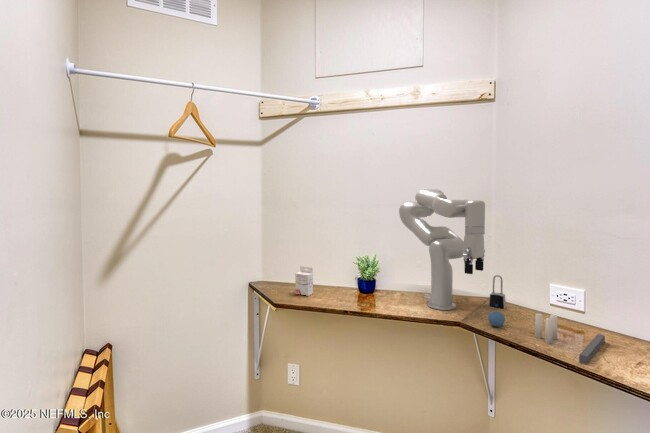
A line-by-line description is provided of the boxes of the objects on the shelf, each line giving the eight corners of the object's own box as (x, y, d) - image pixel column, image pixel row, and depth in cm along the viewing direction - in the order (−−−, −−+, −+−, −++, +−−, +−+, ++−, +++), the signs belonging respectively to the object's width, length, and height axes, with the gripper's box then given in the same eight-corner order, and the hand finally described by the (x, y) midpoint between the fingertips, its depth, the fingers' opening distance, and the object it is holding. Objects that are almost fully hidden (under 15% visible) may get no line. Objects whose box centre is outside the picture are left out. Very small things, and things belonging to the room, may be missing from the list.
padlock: (488, 306, 163) (488, 275, 162) (490, 304, 166) (490, 273, 165) (504, 309, 159) (504, 276, 158) (506, 307, 162) (506, 275, 161)
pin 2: (548, 338, 126) (549, 315, 126) (550, 337, 127) (551, 314, 127) (555, 340, 124) (556, 317, 124) (557, 338, 126) (558, 315, 125)
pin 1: (544, 342, 123) (544, 318, 122) (546, 340, 124) (546, 317, 124) (551, 344, 121) (551, 320, 121) (553, 342, 123) (554, 319, 122)
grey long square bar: (579, 362, 108) (579, 354, 108) (597, 340, 124) (597, 333, 124) (587, 364, 107) (587, 356, 106) (604, 342, 122) (604, 335, 122)
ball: (485, 326, 139) (485, 311, 139) (491, 322, 143) (492, 307, 142) (500, 330, 134) (501, 315, 134) (507, 326, 138) (507, 311, 138)
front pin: (534, 337, 127) (534, 314, 127) (536, 335, 129) (536, 313, 128) (540, 339, 126) (541, 316, 125) (542, 337, 127) (543, 314, 127)
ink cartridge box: (295, 294, 186) (294, 267, 186) (300, 292, 191) (300, 265, 190) (308, 297, 182) (307, 269, 181) (313, 294, 186) (313, 267, 185)
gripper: (475, 228, 152) (474, 267, 153) (455, 231, 141) (455, 273, 142) (493, 229, 146) (492, 270, 148) (473, 232, 135) (473, 276, 136)
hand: (474, 271), depth 145 cm, fingers open, 9 cm apart
